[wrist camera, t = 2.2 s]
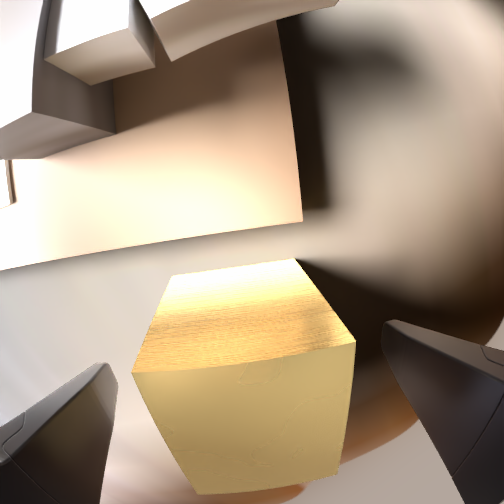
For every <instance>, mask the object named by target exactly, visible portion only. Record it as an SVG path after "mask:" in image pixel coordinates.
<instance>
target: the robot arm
mask: <svg viewBox="0 0 504 504" xmlns="http://www.w3.org/2000/svg"><path fill="white" fill-rule="evenodd" d="M381 348H382V351H383V353H384V355H385V357H386V359H387V361H388V363H389V365H390V368H391V370H392V372H393V374H394V376H395V378H396V380H397V382H398V384H399V386H400V388H401V389H402V391H403V393H404V394H405V396H406V398H407V399H408V401H409V403H410V404H411V406H412V408H413V409H414V411H415V413H416V414H417V416H418V418H419V419H420V421H421V423H422V425H423V426H424V428H425V430H426V432H427V433H428V435H429V437H430V439H431V440H432V442H433V444H434V446H435V448H436V449H437V451H438V453H439V455H440V457H441V458H442V460H443V462H444V464H445V466H446V468H447V470H448V471H449V473H450V475H451V476H452V479H453V481H454V483H455V485H456V487H457V489H458V491H459V493H460V495H461V497H462V499H463V501H464V503H465V504H501V503H502V502H503V501H504V351H502V350H498V349H494V348H491V347H487V346H484V345H481V346H480V345H479V344H476V343H473V342H469V341H466V340H462V339H459V338H456V337H452V336H449V335H445V334H442V333H439V332H435V331H432V330H429V329H425V328H422V327H419V326H415V325H412V324H409V323H405V322H402V321H399V320H390V321H387V322H385V323H384V324H383V328H382V337H381ZM117 393H118V383H117V380H116V378H115V376H114V374H113V372H112V369H111V367H110V365H109V364H108V363H95V364H94V365H92V366H91V367H89V368H88V369H87V370H85V371H84V372H82V373H81V374H79V375H78V376H76V377H75V378H73V379H72V380H70V381H69V382H67V383H66V384H64V385H63V386H61V387H60V388H59V389H57V390H56V391H54V392H53V393H51V394H50V395H48V396H47V397H45V398H44V399H42V400H41V401H39V402H38V403H36V404H35V405H33V406H32V407H30V408H29V409H28V410H26V412H23V413H21V414H20V415H19V416H17V417H16V418H14V419H12V420H11V421H9V422H8V423H6V424H4V425H3V426H1V427H0V504H100V497H101V490H102V483H103V477H104V471H105V466H106V460H107V455H108V450H109V445H110V440H111V435H112V431H113V426H114V418H115V409H116V401H117Z"/></svg>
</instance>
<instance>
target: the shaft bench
mask: <svg viewBox="0 0 504 504" xmlns="http://www.w3.org/2000/svg"><path fill="white" fill-rule="evenodd" d="M338 1H339V0H0V270H3V269H8V268H13V267H18V266H24V265H29V264H34V263H39V262H45V261H50V260H55V259H61V258H66V257H72V256H78V255H83V254H89V253H95V252H101V251H106V250H112V249H118V248H124V247H130V246H136V245H143V244H149V243H155V242H161V241H168V240H174V239H181V238H187V237H194V236H201V235H208V234H214V233H221V232H228V231H235V230H242V229H250V228H257V227H264V226H272V225H279V224H287V223H295V222H302V221H303V216H302V205H301V194H300V184H299V174H298V165H297V156H296V147H295V139H294V131H293V124H292V116H291V109H290V102H289V95H288V88H287V81H286V75H285V69H284V63H283V57H282V51H281V45H280V40H279V34H278V29H277V24H276V20H277V19H281V18H284V17H288V16H292V15H296V14H300V13H304V12H308V11H312V10H317V9H322V8H327V7H332V6H335V5H336V3H337V2H338Z"/></svg>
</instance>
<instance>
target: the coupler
mask: <svg viewBox="0 0 504 504" xmlns="http://www.w3.org/2000/svg"><path fill="white" fill-rule="evenodd" d="M355 348H356V340H355V339H354V338H353V336H352V335H351V334H350V332H349V331H348V329H347V328H346V327H345V325H344V324H343V323H342V321H341V320H340V319H339V317H338V316H337V315H336V313H335V312H334V311H333V309H332V308H331V306H330V305H329V304H328V302H327V301H326V300H325V298H324V297H323V296H322V294H321V293H320V292H319V290H318V289H317V288H316V287H315V285H314V284H313V283H312V281H311V280H310V279H309V277H308V276H307V275H306V273H305V272H304V271H303V269H302V268H301V267H300V265H299V264H298V263H297V262H296V260H295V259H287V260H280V261H273V262H266V263H260V264H253V265H246V266H239V267H232V268H225V269H218V270H211V271H203V272H196V273H189V274H182V275H174V276H172V277H171V279H170V281H169V284H168V286H167V288H166V290H165V293H164V295H163V297H162V299H161V302H160V304H159V306H158V308H157V311H156V313H155V315H154V318H153V320H152V322H151V325H150V327H149V330H148V332H147V334H146V337H145V339H144V342H143V344H142V347H141V349H140V351H139V354H138V356H137V359H136V362H135V364H134V367H133V369H132V372H131V373H132V375H133V378H134V380H135V382H136V385H137V387H138V389H139V391H140V393H141V395H142V398H143V400H144V402H145V404H146V406H147V408H148V410H149V412H150V414H151V416H152V418H153V420H154V422H155V424H156V426H157V428H158V430H159V431H160V433H161V435H162V437H163V439H164V441H165V442H166V444H167V446H168V448H169V449H170V451H171V453H172V455H173V456H174V458H175V460H176V461H177V463H178V465H179V466H180V468H181V469H182V471H183V473H184V474H185V476H186V477H187V479H188V480H189V482H190V483H191V485H192V486H193V488H194V489H195V491H196V492H197V494H223V493H237V492H247V491H256V490H264V489H271V488H277V487H283V486H289V485H294V484H299V483H304V482H308V481H313V480H317V479H321V478H325V477H329V476H332V475H336V474H337V472H338V468H339V463H340V458H341V453H342V447H343V442H344V436H345V430H346V424H347V418H348V411H349V404H350V396H351V388H352V380H353V370H354V360H355Z"/></svg>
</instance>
